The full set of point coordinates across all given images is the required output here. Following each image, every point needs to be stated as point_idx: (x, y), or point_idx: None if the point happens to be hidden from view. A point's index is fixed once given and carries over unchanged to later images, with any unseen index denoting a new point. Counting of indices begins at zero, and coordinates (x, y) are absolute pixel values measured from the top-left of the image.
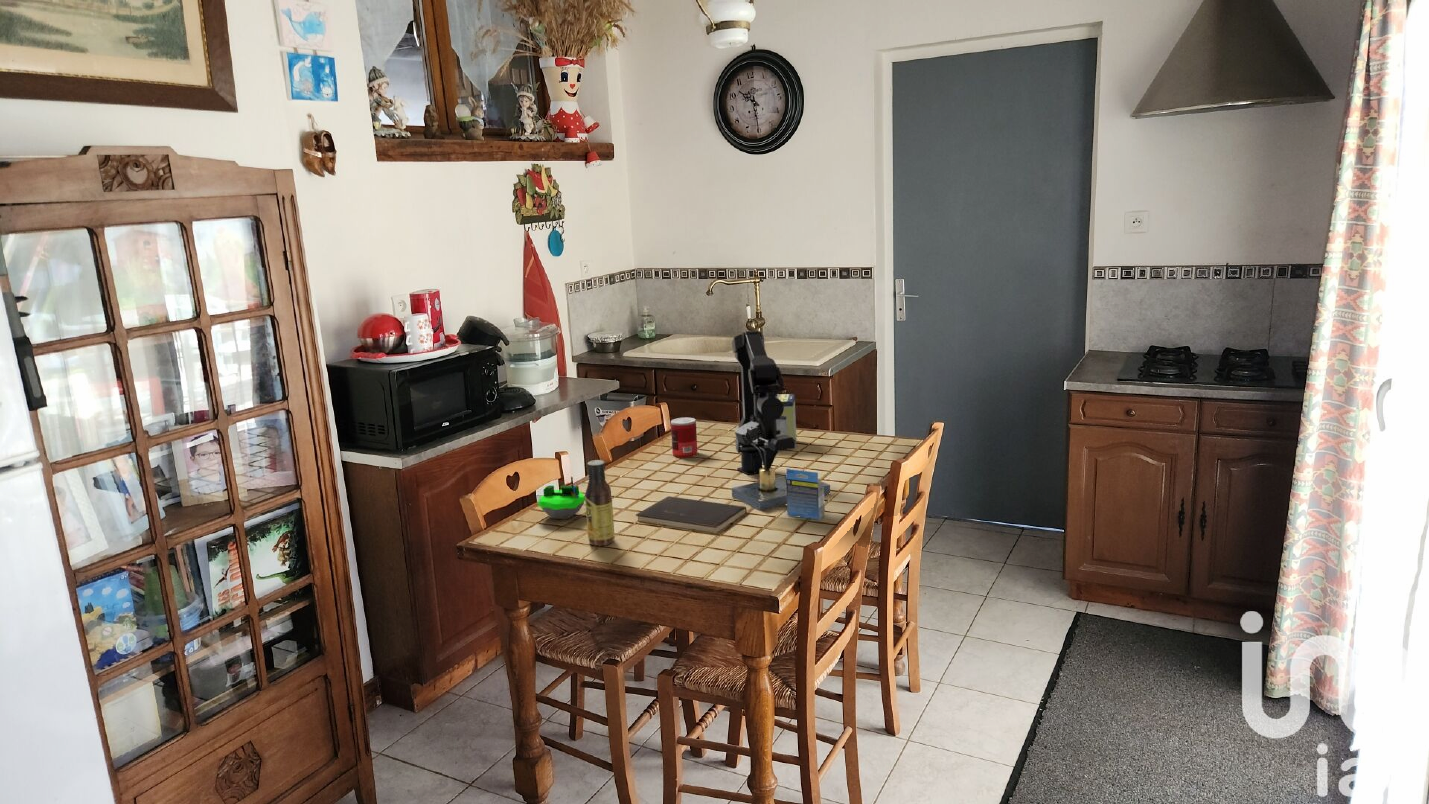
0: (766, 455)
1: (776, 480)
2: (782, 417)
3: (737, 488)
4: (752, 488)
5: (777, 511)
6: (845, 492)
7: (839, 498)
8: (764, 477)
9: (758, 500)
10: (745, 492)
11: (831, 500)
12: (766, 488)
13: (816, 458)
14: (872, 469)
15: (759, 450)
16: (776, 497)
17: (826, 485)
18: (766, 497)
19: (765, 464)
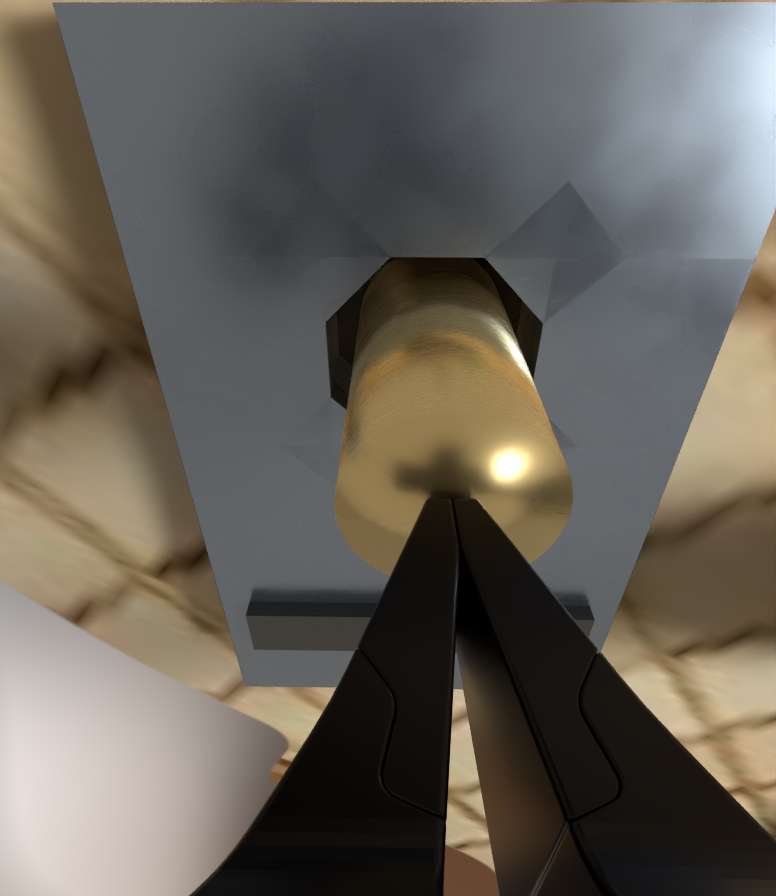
0: (309, 740)
1: (585, 535)
2: None
3: (756, 72)
4: (584, 245)
5: (33, 173)
6: (241, 681)
7: (160, 627)
8: (386, 378)
9: (101, 5)
10: (529, 65)
11: (144, 589)
12: (373, 323)
13: (766, 803)
14: (454, 833)
15: (663, 828)
16: (133, 282)
17: (246, 672)
18: (184, 187)
19: (431, 549)
